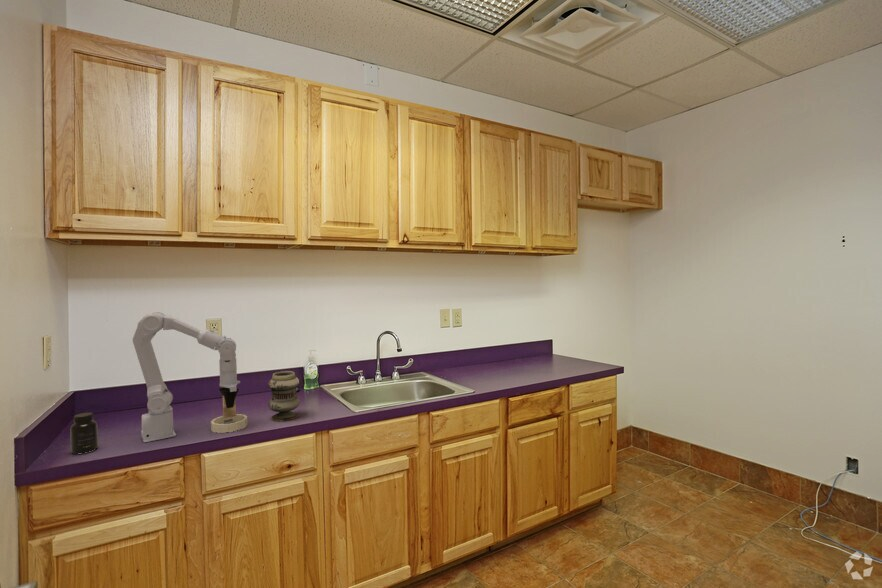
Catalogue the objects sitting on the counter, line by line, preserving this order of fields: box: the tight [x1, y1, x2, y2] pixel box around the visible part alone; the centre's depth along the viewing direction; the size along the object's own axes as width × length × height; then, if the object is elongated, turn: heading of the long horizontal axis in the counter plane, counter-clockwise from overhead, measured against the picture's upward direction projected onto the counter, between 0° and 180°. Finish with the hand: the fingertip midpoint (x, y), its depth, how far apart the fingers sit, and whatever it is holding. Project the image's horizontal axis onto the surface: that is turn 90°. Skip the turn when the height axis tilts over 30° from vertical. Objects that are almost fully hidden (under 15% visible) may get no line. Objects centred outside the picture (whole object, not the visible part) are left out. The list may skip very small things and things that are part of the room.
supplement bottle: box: [69, 412, 99, 455], centre depth 139 cm, size 7×7×12 cm
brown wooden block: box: [222, 396, 237, 418], centre depth 160 cm, size 4×2×8 cm, turn 129°
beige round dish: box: [210, 413, 249, 434], centre depth 161 cm, size 12×12×3 cm
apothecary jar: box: [267, 370, 301, 422], centre depth 171 cm, size 12×12×18 cm
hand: (229, 406), depth 160 cm, fingers closed on brown wooden block, 2 cm apart
